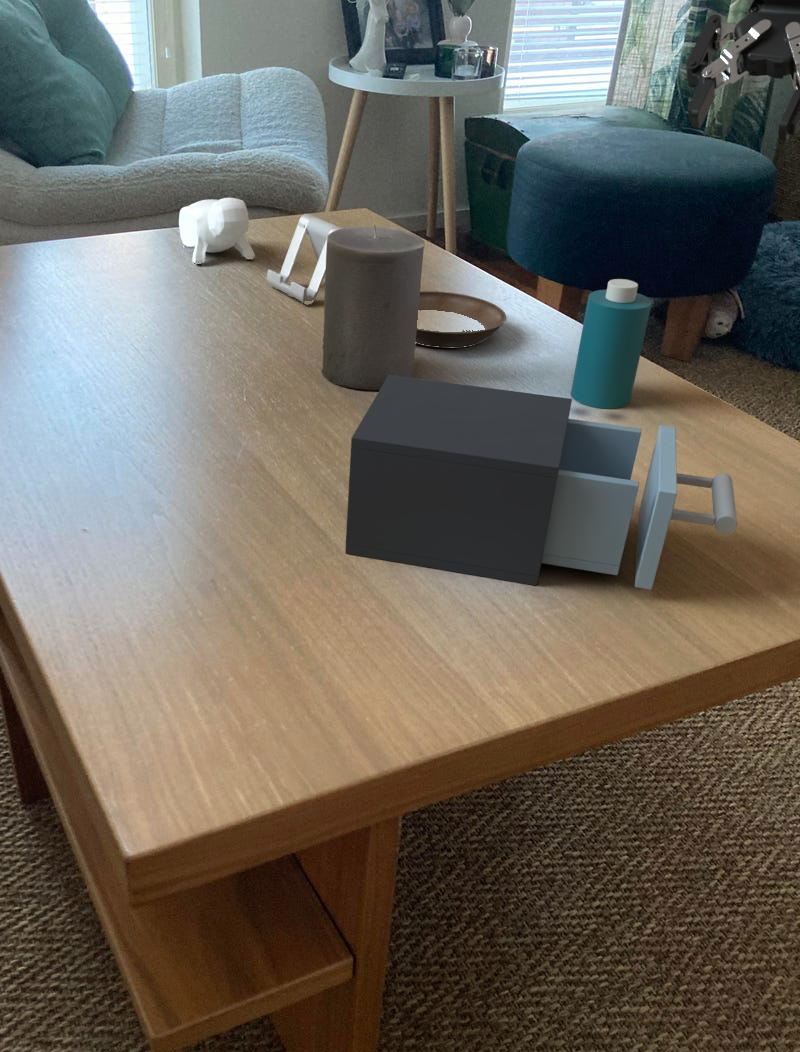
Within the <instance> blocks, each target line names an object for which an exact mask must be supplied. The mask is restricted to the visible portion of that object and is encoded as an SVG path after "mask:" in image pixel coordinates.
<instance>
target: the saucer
mask: <svg viewBox="0 0 800 1052" xmlns="http://www.w3.org/2000/svg"><path fill="white" fill-rule="evenodd" d="M419 310H420V311H421V310H437V311H445V312H454V313H457V314H461V315H464V316H467V317H469V318H472V319H474V320H477V321H478V322H479V323H481V325H483V326H484V328H485V330H480V331H479V330H478V331H473V330H472V332H471V331H470V330H469V331H467V330H466V332H465V331H464V330H463V331H462V332H439V331H430V330H424V329H418V328H417V332H416V342H417V343H420V344H424V345H430V346H439V347H459V348H465V347H464V346H467V347H471V346H470V345H472V346H475V345H478V344H480V343H482V342H484V341H486V340H487V339H488V338H490V337H491V336H492V335H494V334H495V333H496V332H497V331H498V330H500V328H501V327H502V326H503V325H504V323H505V322H506V320H507V314H506V312H505V311H504V309H502V308H501V307H499V306H498V305H496V304H494V303H493V302H491V301H488V300H485V299H482V298H479V297H475V296H471V295H467V294H463V293H456V292H450V291H449V292H448V291H435V290H434V291H433V290H430V291H429V290H428V291H427V290H426V291H424V290H423V291H421V290H420V296H419ZM477 343H478V344H477ZM474 344H475V345H474ZM436 348H437V349H439V348H438V347H436Z"/></svg>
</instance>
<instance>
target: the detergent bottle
mask: <svg viewBox="0 0 800 1052" xmlns="http://www.w3.org/2000/svg"><path fill="white" fill-rule="evenodd" d="M638 288H639V284H638V283H637V282H635V281H634V280H631V279H625V278H624V279H623V278H615V279H613V278H612V279H610V280H609V281H608V282H607V287H606V289H598V290H594V291H593V292H592V291H591V292H590V293H589V294H588V298H587V302H586V308H585V312H584V319H583V323H582V329H581V335H580V340H579V346H578V351H577V357H576V360H575V361H576V362H575V367H574V371H573V372H574V373H573V377H572V383H571V387H570V388H571V389H570V397H571V399H572V400H574V401H576V402H578V403H580V404H582V405H585V406H588V407H592V408H596V409H597V408H598V409H605V410H606V409H607V410H609V409H611V410H612V409H619V408H624V407H626V406H627V405H630V402H631V399H632V395H633V391H634V386H635V381H636V376H637V372H638V367H639V363H640V358H641V354H642V349H643V344H644V341H645V336H646V335H645V334H646V331H647V328H648V322H649V318H650V313H651V309H652V304H653V302H652V300H651V299H650V297H648V296H646V295H643V294H642V293H638Z"/></svg>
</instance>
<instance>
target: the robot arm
mask: <svg viewBox="0 0 800 1052" xmlns="http://www.w3.org/2000/svg"><path fill="white" fill-rule="evenodd" d="M721 17H722V16H720V14H712V15H710V16H709V17H708V18H707V19H706V21H705V24H704V26H703V28H702V30H701V33H700V34H699V36H698V39H697V40H696V42H695V45H694V47H693V49H692V51H691V53H690V55H689V56H688V59H687V61H686V63H685V70H686V79H687V87H689V88H693V89H694V88H695V89H694V92H693V94H692V97H691V99H690V100H689V102H688V105H687V112H688V113H687V114H688V121H690V122H691V123H690V125H691V128H692V129H693V128H694V129H701V128H702V125H703V123H704V121H705V120H706V118H707V115H708V113H709V110H710V108H711V107H712V105H713V102H714V100H715V98H716V93H717V92H719V90H721V89H722V88H724V87H725V86H727V85H728V84H731V85H733V84H735V83H736V82H738V81H739V80H740V79H742V78H743V77H745V76H746V75H748V76H752V77H763V76H767V77H771V78H772V79H778V80H779V79H780V80H783V79H784V77H786V76H789V77H790V80H791V84H792V87H793V90H794V92H793V94H792V96H791V98H790V100H789V102H788V104H787V107H786V108H785V111H784V113H783V116H782V117H781V120H780V122H779V125H778V140H780V141H786V142H787V141H788V140H789V137H790V136H796V134H797V133H798V132H800V0H752V1H751V4H750V6H749V8H748V10H747V13H746V14H745V15H744V17H743V18H741V19H740V20H739V21H738V22H737V23H730V22H722V18H721ZM729 41H734V42H732V43H731V44H730V45H729V46H727V47H726V48H724V49H723V47H724V46H725V45H726V44H727V42H729ZM722 49H723V50H722ZM721 50H722V52H721V55H720V56H719V57H717V58H716V59H715V60H714V61H712V60H713V59H714V56H715V54H716V52H720V51H721ZM738 59H739V60H740V61H739V62H738Z"/></svg>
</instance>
